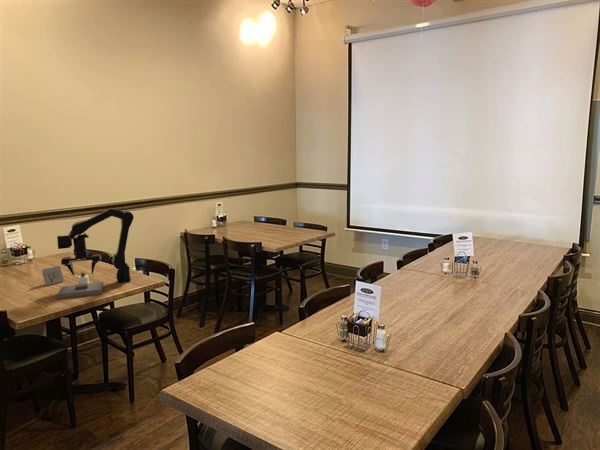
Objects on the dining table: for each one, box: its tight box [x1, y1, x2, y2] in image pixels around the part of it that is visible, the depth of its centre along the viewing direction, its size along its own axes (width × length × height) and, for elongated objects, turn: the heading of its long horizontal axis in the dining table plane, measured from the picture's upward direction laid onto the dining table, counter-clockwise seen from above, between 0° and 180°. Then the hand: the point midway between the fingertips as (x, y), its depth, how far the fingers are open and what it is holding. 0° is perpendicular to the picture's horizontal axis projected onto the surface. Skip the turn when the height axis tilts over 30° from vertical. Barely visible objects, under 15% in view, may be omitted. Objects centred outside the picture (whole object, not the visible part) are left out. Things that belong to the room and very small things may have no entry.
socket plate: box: [56, 281, 105, 300], centre depth 234 cm, size 20×13×2 cm, turn 107°
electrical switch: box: [41, 265, 65, 286], centre depth 251 cm, size 9×5×9 cm, turn 141°
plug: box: [77, 271, 90, 285], centre depth 242 cm, size 4×4×8 cm
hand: (83, 274), depth 242 cm, fingers open, 9 cm apart
